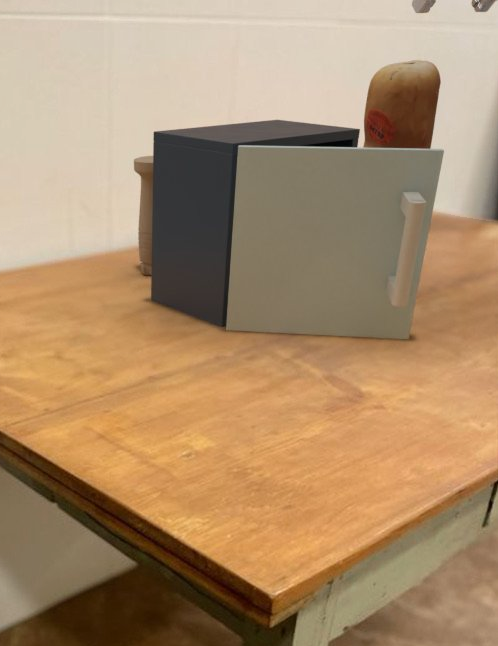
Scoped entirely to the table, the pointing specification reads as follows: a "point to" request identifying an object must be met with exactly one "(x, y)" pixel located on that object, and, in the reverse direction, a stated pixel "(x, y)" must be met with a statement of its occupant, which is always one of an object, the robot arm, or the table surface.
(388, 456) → the table surface
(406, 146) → the butternut squash
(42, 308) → the table surface
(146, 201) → the handle
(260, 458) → the table surface
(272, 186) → the door
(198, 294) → the cupboard
